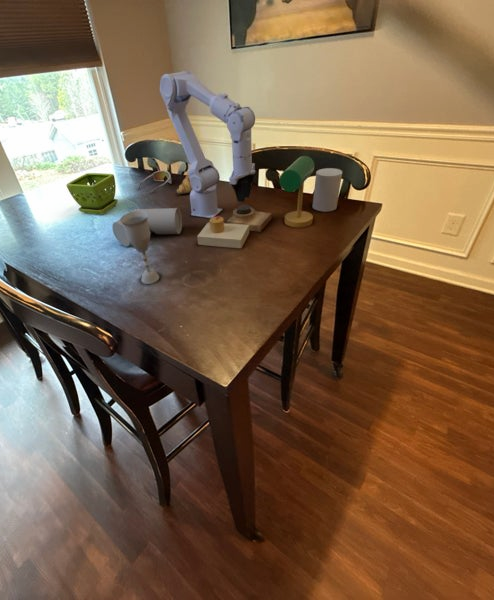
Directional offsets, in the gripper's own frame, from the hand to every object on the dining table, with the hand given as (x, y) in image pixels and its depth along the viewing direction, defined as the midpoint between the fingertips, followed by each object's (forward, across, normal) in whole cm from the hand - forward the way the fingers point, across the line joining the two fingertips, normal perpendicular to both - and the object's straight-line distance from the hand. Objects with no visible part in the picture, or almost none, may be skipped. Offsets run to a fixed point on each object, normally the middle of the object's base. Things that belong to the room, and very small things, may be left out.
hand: (243, 199), depth 102 cm
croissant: (+8, +25, +36) cm, 45 cm away
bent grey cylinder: (+8, -19, +25) cm, 33 cm away
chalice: (+8, -40, +10) cm, 42 cm away
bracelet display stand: (+8, +6, -17) cm, 20 cm away
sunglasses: (+8, +23, +56) cm, 61 cm away
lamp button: (+4, 0, 0) cm, 4 cm away
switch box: (+8, 0, -2) cm, 8 cm away
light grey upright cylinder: (+8, +20, -22) cm, 31 cm away
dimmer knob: (+5, -13, +3) cm, 15 cm away
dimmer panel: (+8, -13, +1) cm, 15 cm away
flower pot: (+8, -7, +63) cm, 64 cm away
